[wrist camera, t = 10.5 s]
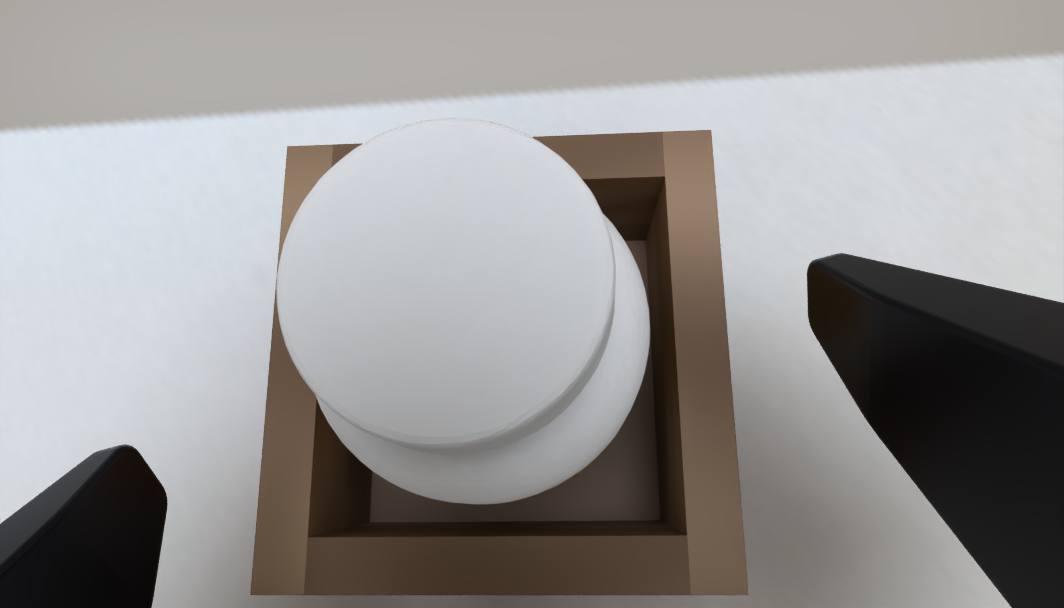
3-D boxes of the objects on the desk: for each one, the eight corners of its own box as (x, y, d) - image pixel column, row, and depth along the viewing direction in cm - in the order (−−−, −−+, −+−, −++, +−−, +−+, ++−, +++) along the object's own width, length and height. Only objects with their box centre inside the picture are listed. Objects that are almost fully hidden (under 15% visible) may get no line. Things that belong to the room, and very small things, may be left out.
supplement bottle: (474, 246, 18) (364, -2, 9) (659, 337, 17) (758, 169, 8) (370, 428, 17) (119, 370, 8) (561, 535, 16) (540, 617, 7)
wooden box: (701, 561, 16) (748, 595, 12) (335, 563, 17) (250, 594, 13) (678, 211, 19) (711, 129, 14) (354, 222, 19) (287, 146, 15)
